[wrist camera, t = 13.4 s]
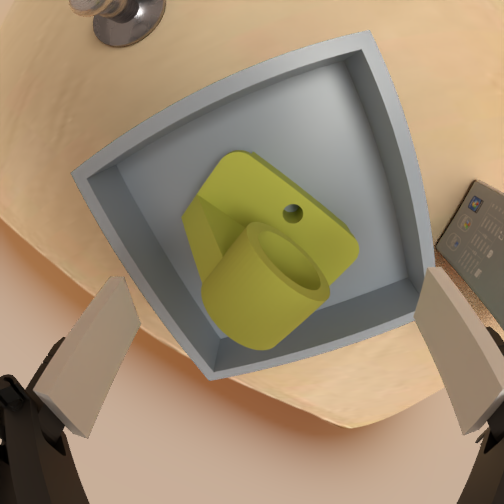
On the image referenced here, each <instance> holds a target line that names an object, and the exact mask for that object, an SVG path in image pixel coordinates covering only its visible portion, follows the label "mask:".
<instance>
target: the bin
mask: <svg viewBox="0 0 504 504" xmlns="http://www.w3.org/2000/svg"><path fill="white" fill-rule="evenodd" d="M235 150H244V151H247V152H249V153H252V152H255V153H256V154H257V155H259V156H260V157H261V158H263V159H264V160H266V161H267V162H268V163H270V164H271V165H272V166H274V167H275V168H276V169H278V170H279V171H280V172H282V173H283V174H284V175H285V176H287V177H288V178H289V179H291V180H292V181H293V182H294V183H296V184H297V185H298V186H300V187H301V188H302V189H303V190H305V191H306V192H307V193H308V194H310V195H311V196H312V197H313V198H315V199H316V200H317V201H318V202H320V203H321V204H322V205H323V206H324V207H326V208H327V209H328V210H329V211H331V212H332V213H333V214H334V215H335V216H336V217H338V218H339V219H340V220H341V221H342V222H344V223H345V224H346V225H347V227H348V228H349V230H350V232H351V233H352V234H353V235H354V237H355V239H356V240H357V242H358V244H359V254H358V257H357V259H356V260H355V261H354V262H353V263H352V264H351V265H350V266H349V267H348V268H347V269H346V270H345V271H344V272H343V273H342V274H341V275H340V276H339V277H338V278H337V279H336V280H335V281H334V282H333V283H332V284H331V285H330V286H329V288H330V296H329V298H328V299H327V300H326V301H325V302H324V303H323V304H322V305H321V306H320V307H319V308H318V309H317V310H316V311H314V312H313V313H312V314H311V315H310V316H309V317H308V318H307V319H306V320H304V321H303V322H302V323H301V324H300V325H299V326H298V327H297V328H295V329H294V330H293V331H292V332H291V333H290V334H289V335H287V336H286V337H285V338H284V339H283V340H282V341H280V342H279V343H278V344H277V345H276V346H275V347H273V348H271V349H268V350H254V349H251V348H247V347H245V346H243V345H241V344H239V343H237V342H235V341H234V340H232V339H231V338H229V337H228V336H227V335H226V334H225V333H223V332H222V331H221V330H220V329H219V328H218V326H217V325H216V324H215V323H214V322H213V320H212V319H211V318H210V316H209V314H208V313H207V311H206V309H205V307H204V304H203V301H202V297H201V286H202V282H201V279H200V276H199V272H198V269H197V266H196V263H195V260H194V257H193V254H192V251H191V248H190V245H189V241H188V238H187V235H186V232H185V228H184V225H183V222H182V218H181V217H182V215H183V214H184V212H185V211H186V209H187V208H188V206H189V205H190V203H191V202H192V200H193V199H194V197H195V196H196V194H197V193H198V192H199V190H200V189H201V187H202V186H203V184H204V183H205V181H206V180H207V179H208V177H209V176H210V174H211V173H212V171H213V170H214V169H215V167H216V166H217V164H218V163H219V162H220V160H221V159H222V158H223V157H224V156H225V155H226V154H228V153H229V152H232V151H235ZM71 175H72V177H73V179H74V181H75V183H76V185H77V187H78V189H79V191H80V192H81V194H82V196H83V198H84V200H85V202H86V204H87V205H88V207H89V209H90V211H91V213H92V214H93V216H94V218H95V220H96V221H97V223H98V225H99V227H100V228H101V230H102V232H103V233H104V235H105V237H106V238H107V240H108V242H109V243H110V245H111V247H112V248H113V250H114V252H115V253H116V255H117V256H118V258H119V260H120V261H121V263H122V264H123V266H124V267H125V269H126V270H127V272H128V273H129V275H130V277H131V278H132V280H133V281H134V283H135V284H136V285H137V287H138V288H139V290H140V291H141V293H142V294H143V296H144V297H145V299H146V300H147V301H148V303H149V304H150V306H151V307H152V308H153V310H154V311H155V313H156V314H157V315H158V317H159V318H160V319H161V321H162V322H163V324H164V325H165V326H166V328H167V329H168V330H169V332H170V333H171V334H172V335H173V337H174V338H175V339H176V341H177V342H178V343H179V344H180V346H181V347H182V348H183V350H184V351H185V352H186V353H187V355H188V356H189V357H190V358H191V360H192V361H193V362H194V363H195V364H196V366H197V367H198V368H199V369H200V370H201V371H202V373H203V374H204V375H205V376H206V378H207V379H208V380H209V381H211V380H216V379H222V378H227V377H232V376H237V375H241V374H246V373H250V372H255V371H259V370H263V369H267V368H272V367H276V366H279V365H283V364H287V363H291V362H295V361H298V360H302V359H305V358H309V357H312V356H316V355H319V354H322V353H326V352H329V351H332V350H335V349H338V348H342V347H345V346H348V345H351V344H354V343H357V342H359V341H362V340H365V339H368V338H371V337H374V336H376V335H379V334H382V333H384V332H387V331H390V330H392V329H395V328H397V327H400V326H403V325H405V324H408V323H410V322H412V321H415V320H414V318H413V316H414V313H415V310H416V306H417V303H418V300H419V296H420V293H421V289H422V286H423V282H424V278H425V274H426V270H427V268H428V267H436V266H435V256H434V247H433V239H432V232H431V225H430V219H429V212H428V207H427V201H426V196H425V191H424V186H423V182H422V177H421V173H420V168H419V164H418V160H417V156H416V152H415V149H414V145H413V141H412V138H411V134H410V131H409V128H408V125H407V121H406V118H405V115H404V112H403V109H402V106H401V103H400V100H399V98H398V95H397V92H396V89H395V87H394V84H393V82H392V79H391V76H390V74H389V72H388V69H387V67H386V64H385V62H384V60H383V57H382V55H381V53H380V51H379V48H378V46H377V44H376V42H375V40H374V38H373V36H372V34H371V32H370V30H368V31H363V32H358V33H354V34H350V35H346V36H342V37H338V38H334V39H330V40H327V41H323V42H320V43H316V44H313V45H310V46H306V47H303V48H300V49H297V50H294V51H291V52H288V53H285V54H282V55H280V56H277V57H274V58H271V59H269V60H266V61H264V62H261V63H258V64H256V65H254V66H251V67H249V68H246V69H244V70H241V71H239V72H237V73H235V74H232V75H230V76H228V77H226V78H223V79H221V80H219V81H217V82H215V83H213V84H211V85H209V86H207V87H205V88H203V89H201V90H199V91H197V92H195V93H193V94H191V95H189V96H187V97H185V98H183V99H181V100H180V101H178V102H176V103H174V104H172V105H170V106H169V107H167V108H165V109H163V110H162V111H160V112H158V113H157V114H155V115H153V116H152V117H150V118H148V119H147V120H145V121H143V122H142V123H140V124H139V125H137V126H135V127H134V128H132V129H131V130H129V131H128V132H126V133H125V134H123V135H122V136H120V137H119V138H117V139H116V140H114V141H113V142H111V143H110V144H108V145H107V146H106V147H104V148H103V149H101V150H100V151H99V152H97V153H96V154H95V155H93V156H92V157H90V158H89V159H88V160H86V161H85V162H84V163H83V164H81V165H80V166H79V167H77V168H76V169H75V170H74V171H72V172H71ZM298 208H299V206H298V205H296V204H290V205H288V206H286V207H285V208H284V210H285V211H287V212H294V211H296V210H297V209H298Z"/></svg>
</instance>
